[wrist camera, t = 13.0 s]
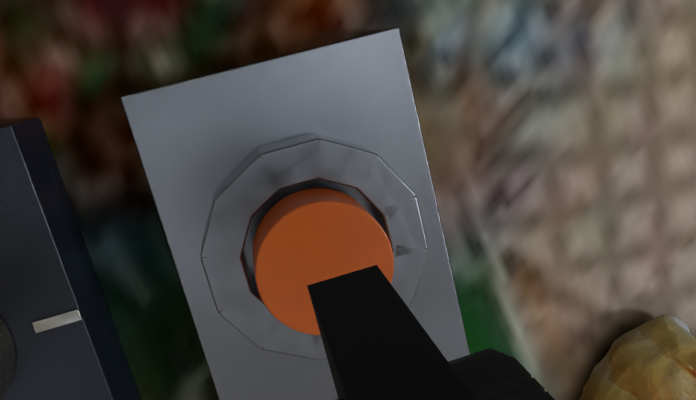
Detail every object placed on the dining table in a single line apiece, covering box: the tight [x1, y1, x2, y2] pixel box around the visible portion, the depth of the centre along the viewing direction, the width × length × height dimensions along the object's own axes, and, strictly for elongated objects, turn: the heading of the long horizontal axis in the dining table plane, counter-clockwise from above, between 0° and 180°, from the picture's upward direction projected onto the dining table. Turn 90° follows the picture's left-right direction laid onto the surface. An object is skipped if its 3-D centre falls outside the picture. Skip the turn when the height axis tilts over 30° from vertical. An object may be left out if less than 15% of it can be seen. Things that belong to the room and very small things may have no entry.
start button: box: [252, 188, 394, 335], centre depth 20 cm, size 4×4×2 cm
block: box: [121, 27, 470, 400], centre depth 22 cm, size 12×9×4 cm
